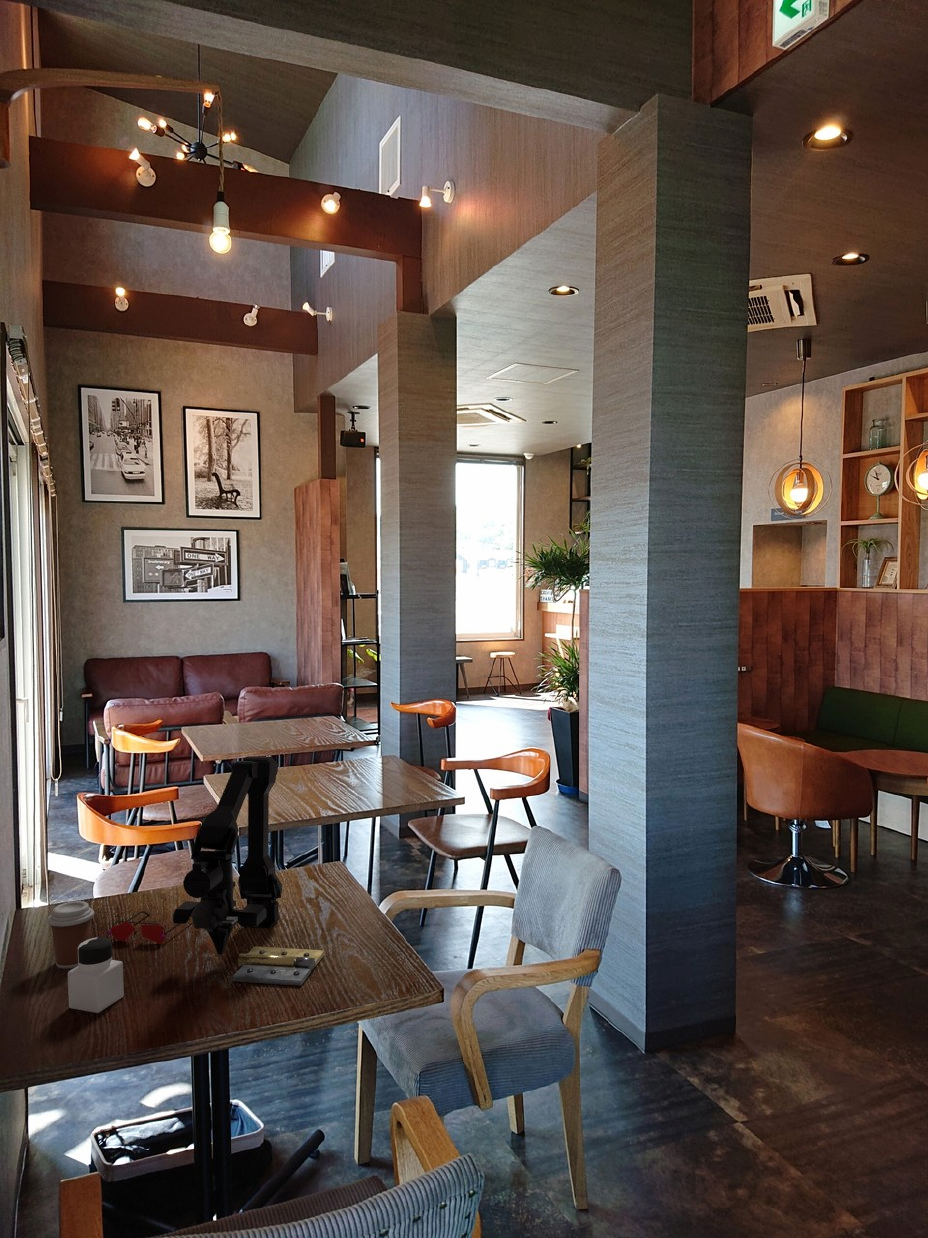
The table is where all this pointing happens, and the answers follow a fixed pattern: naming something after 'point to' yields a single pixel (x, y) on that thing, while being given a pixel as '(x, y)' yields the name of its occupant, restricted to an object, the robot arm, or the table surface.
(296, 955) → the brass leaf
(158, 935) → the glasses
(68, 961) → the coffee cup
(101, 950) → the medicine bottle
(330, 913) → the table surface
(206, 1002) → the table surface
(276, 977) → the steel leaf
